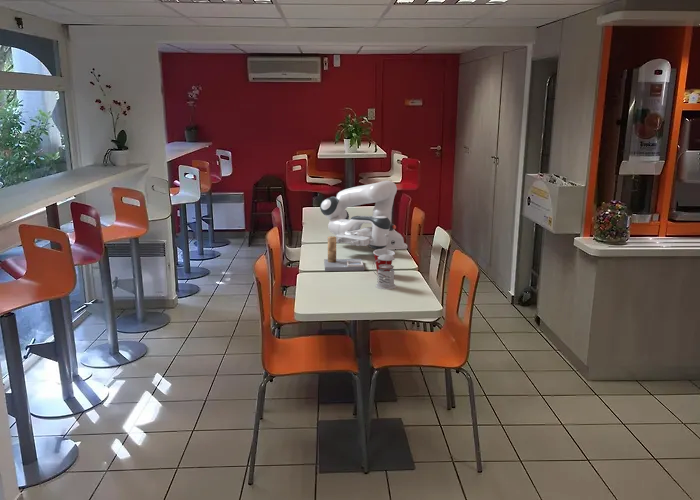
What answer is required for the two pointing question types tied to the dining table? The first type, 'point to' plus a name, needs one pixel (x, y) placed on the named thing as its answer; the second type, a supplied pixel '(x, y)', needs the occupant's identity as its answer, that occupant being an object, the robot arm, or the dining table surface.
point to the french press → (387, 282)
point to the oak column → (331, 249)
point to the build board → (344, 265)
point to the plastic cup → (377, 254)
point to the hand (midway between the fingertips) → (344, 242)
